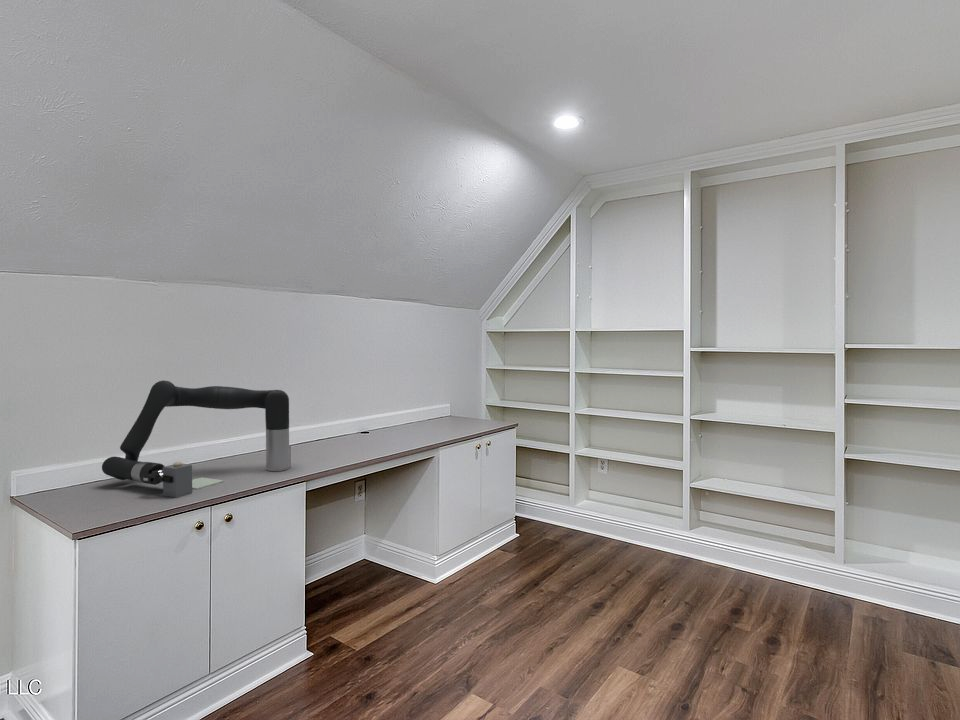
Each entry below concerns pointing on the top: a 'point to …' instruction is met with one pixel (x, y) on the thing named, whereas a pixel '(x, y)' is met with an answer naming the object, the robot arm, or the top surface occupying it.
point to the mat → (204, 482)
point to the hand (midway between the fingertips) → (181, 477)
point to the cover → (178, 480)
